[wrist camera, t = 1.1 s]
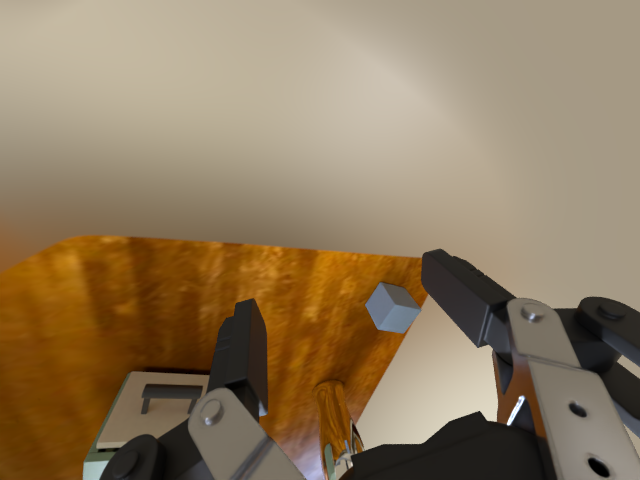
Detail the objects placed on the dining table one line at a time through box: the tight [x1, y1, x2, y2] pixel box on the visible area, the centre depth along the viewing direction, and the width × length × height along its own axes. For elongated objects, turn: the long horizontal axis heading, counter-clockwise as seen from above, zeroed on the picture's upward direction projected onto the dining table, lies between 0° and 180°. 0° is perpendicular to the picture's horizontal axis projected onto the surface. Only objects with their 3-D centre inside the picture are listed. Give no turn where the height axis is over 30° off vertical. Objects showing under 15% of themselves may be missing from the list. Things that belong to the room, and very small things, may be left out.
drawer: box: [96, 371, 210, 452], centre depth 32 cm, size 20×11×8 cm, turn 156°
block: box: [365, 282, 421, 333], centre depth 34 cm, size 5×5×5 cm
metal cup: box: [312, 380, 365, 480], centre depth 39 cm, size 7×7×15 cm
